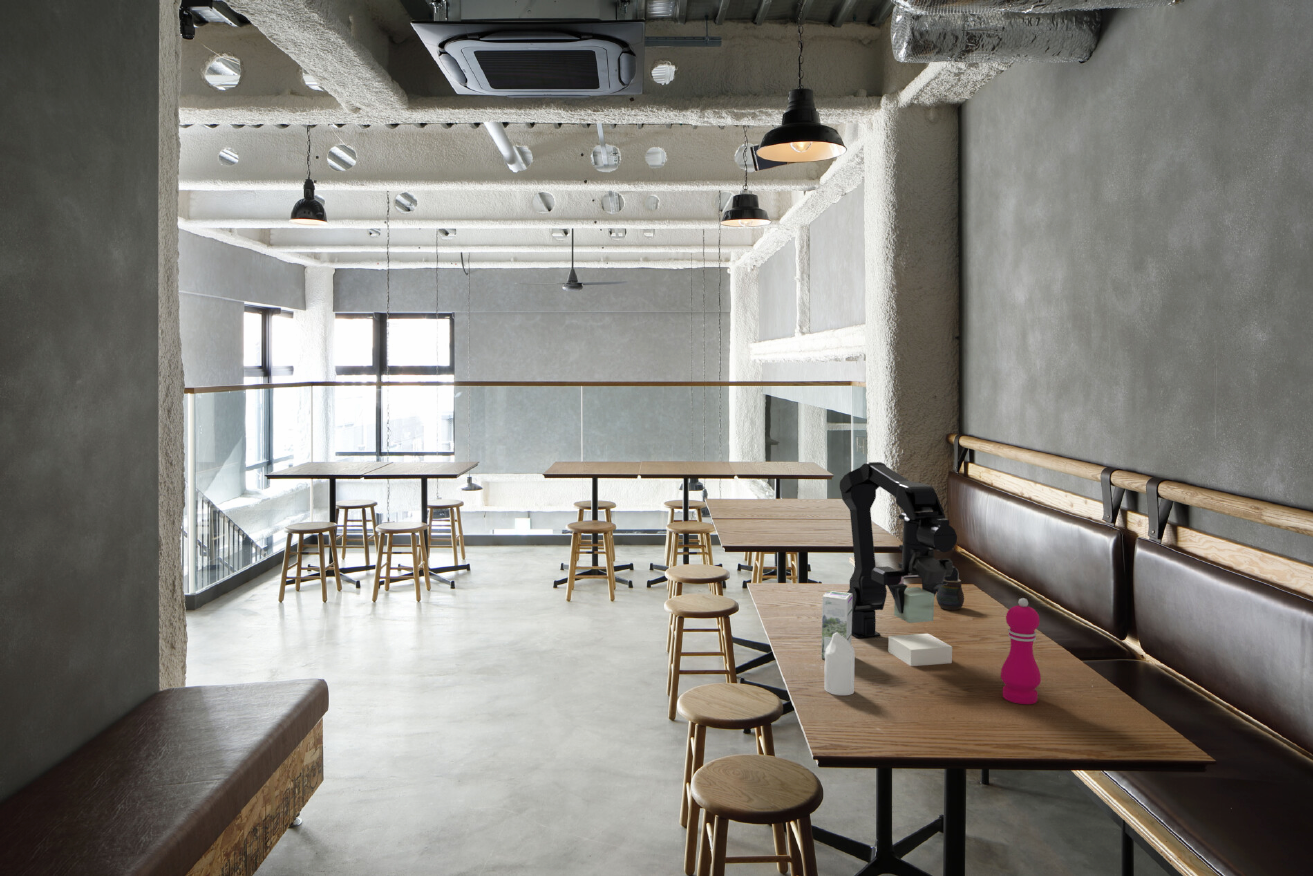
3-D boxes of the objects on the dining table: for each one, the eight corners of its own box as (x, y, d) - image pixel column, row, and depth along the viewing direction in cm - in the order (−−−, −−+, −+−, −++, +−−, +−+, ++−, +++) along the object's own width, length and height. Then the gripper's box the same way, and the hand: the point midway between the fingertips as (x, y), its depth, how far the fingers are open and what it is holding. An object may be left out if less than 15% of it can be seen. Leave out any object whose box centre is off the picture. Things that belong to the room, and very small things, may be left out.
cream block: (888, 653, 192) (888, 636, 192) (927, 650, 194) (928, 633, 194) (910, 667, 182) (911, 649, 182) (951, 664, 184) (952, 646, 184)
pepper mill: (1037, 708, 159) (1041, 605, 157) (996, 700, 163) (1000, 599, 161) (1042, 696, 165) (1046, 596, 164) (1003, 689, 169) (1006, 591, 167)
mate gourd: (933, 609, 228) (933, 573, 228) (939, 603, 235) (940, 568, 234) (960, 613, 224) (961, 576, 224) (966, 607, 231) (967, 571, 230)
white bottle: (859, 631, 167) (849, 638, 162) (858, 689, 168) (847, 698, 163) (831, 626, 170) (820, 633, 166) (830, 683, 171) (819, 691, 167)
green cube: (894, 615, 186) (895, 588, 186) (917, 613, 188) (918, 587, 188) (909, 623, 181) (910, 596, 180) (933, 621, 182) (934, 594, 182)
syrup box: (851, 655, 189) (853, 592, 188) (846, 663, 184) (847, 598, 183) (826, 651, 192) (828, 589, 191) (820, 659, 186) (821, 595, 185)
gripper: (899, 552, 173) (896, 626, 174) (976, 548, 178) (973, 619, 179) (871, 541, 183) (868, 611, 185) (944, 537, 189) (941, 605, 190)
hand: (913, 612), depth 184 cm, fingers closed on green cube, 6 cm apart
